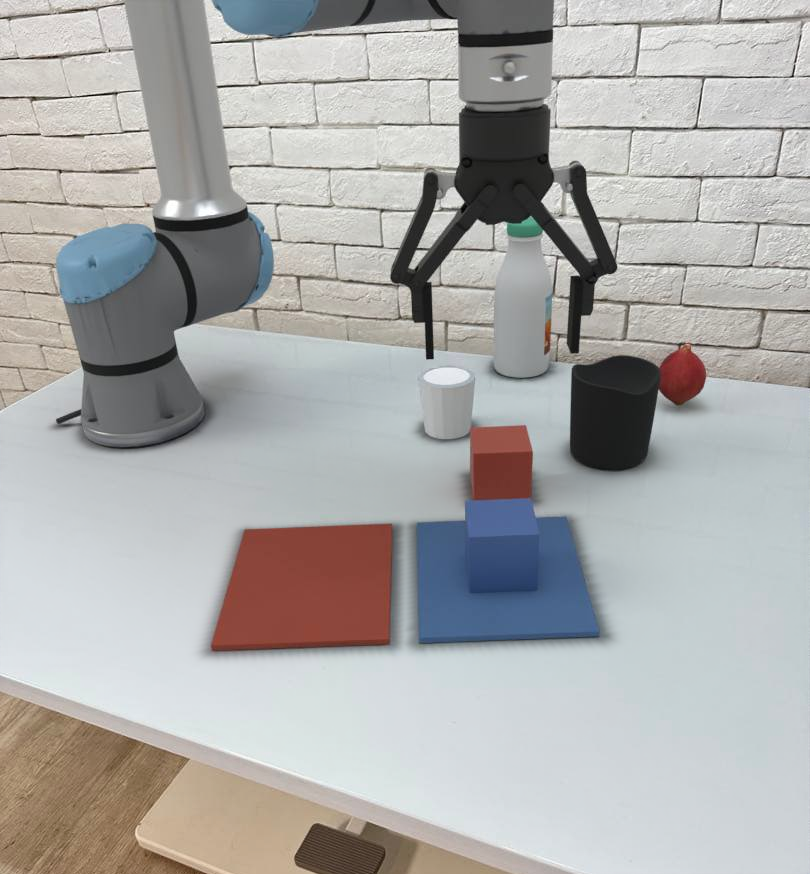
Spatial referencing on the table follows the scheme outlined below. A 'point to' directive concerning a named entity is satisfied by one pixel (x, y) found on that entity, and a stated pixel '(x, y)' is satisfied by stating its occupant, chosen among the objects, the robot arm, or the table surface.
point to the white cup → (447, 400)
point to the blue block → (501, 545)
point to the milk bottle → (523, 305)
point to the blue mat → (500, 611)
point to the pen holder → (613, 411)
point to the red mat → (308, 588)
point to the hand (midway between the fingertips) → (501, 351)
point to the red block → (500, 462)
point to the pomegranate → (682, 375)
